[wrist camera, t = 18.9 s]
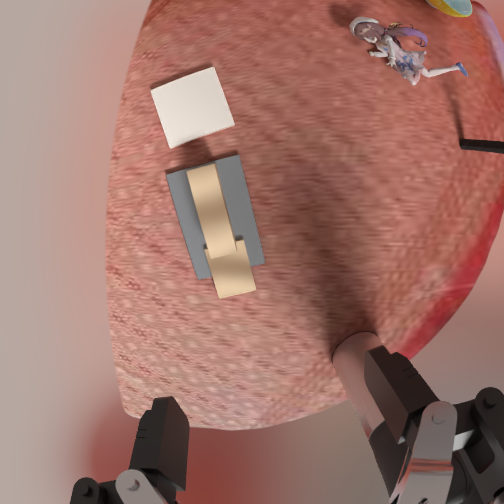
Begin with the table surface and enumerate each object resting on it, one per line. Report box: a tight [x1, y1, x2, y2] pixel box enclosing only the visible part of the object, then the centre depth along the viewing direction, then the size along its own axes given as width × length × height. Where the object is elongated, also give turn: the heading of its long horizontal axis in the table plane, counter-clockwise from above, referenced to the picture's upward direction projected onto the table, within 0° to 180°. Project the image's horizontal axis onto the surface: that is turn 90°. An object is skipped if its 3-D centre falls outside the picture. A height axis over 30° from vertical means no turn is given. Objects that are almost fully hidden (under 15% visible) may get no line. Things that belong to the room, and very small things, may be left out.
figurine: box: [349, 17, 468, 85], centre depth 24 cm, size 12×9×15 cm
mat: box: [166, 155, 265, 280], centre depth 34 cm, size 14×9×1 cm, turn 13°
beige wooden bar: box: [186, 163, 256, 299], centre depth 32 cm, size 17×5×4 cm, turn 13°
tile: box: [151, 67, 235, 149], centre depth 29 cm, size 2×8×8 cm
